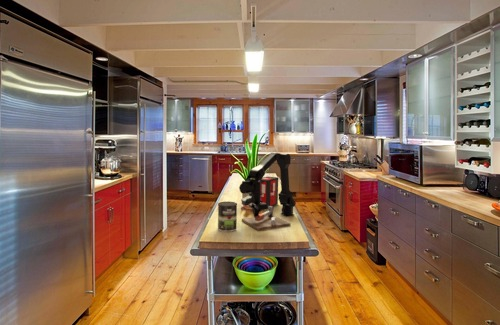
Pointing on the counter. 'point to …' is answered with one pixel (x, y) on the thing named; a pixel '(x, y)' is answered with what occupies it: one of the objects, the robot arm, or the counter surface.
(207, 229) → the counter surface
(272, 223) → the grey brown rectangular block
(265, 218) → the base
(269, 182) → the cleaning product box
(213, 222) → the counter surface
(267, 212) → the lever
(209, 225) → the counter surface
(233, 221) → the coffee can
